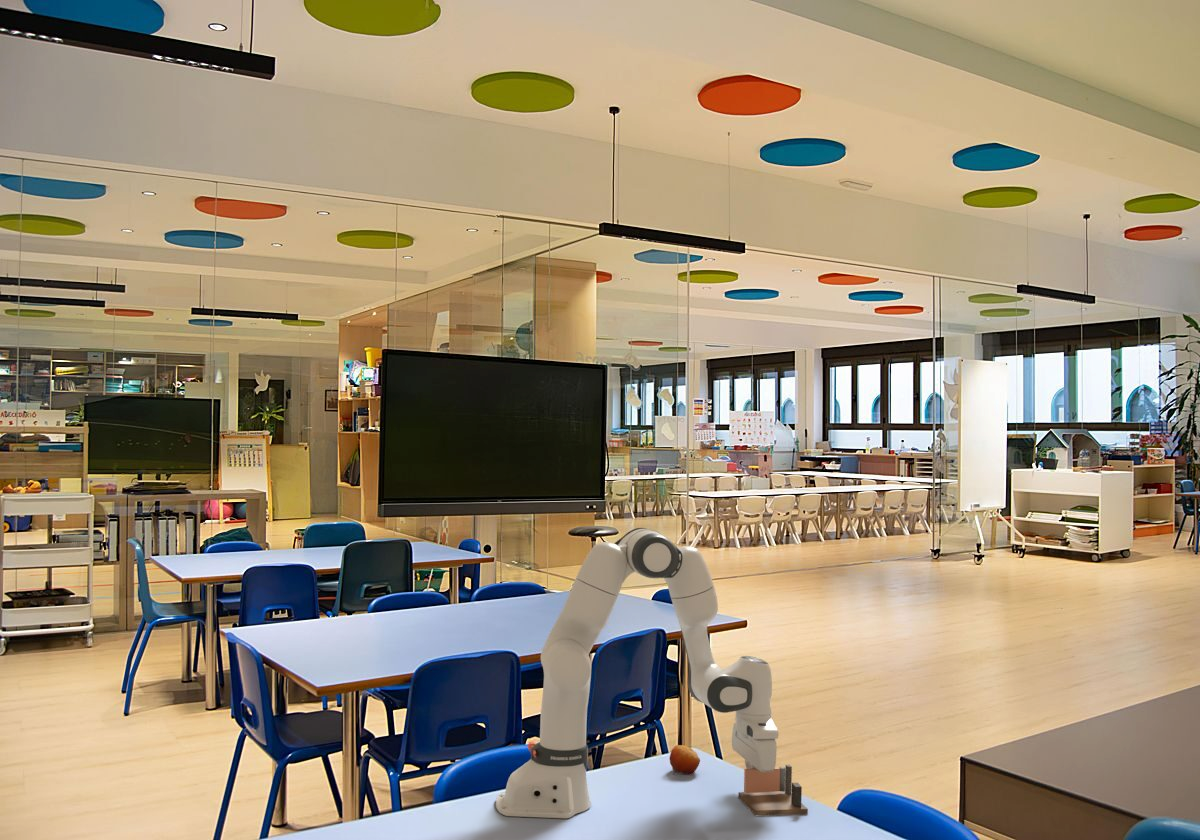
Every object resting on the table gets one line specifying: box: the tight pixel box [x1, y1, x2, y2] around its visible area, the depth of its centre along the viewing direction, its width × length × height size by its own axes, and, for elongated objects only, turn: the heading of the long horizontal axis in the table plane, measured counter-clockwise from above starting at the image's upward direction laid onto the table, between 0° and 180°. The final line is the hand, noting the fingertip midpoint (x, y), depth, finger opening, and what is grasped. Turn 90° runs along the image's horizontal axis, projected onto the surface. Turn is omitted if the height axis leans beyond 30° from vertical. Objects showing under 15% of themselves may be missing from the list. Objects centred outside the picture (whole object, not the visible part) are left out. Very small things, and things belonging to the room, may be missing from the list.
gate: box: [743, 766, 786, 793], centre depth 236 cm, size 11×2×6 cm, turn 104°
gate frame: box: [738, 764, 809, 816], centre depth 232 cm, size 13×13×8 cm
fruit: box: [669, 744, 701, 775], centre depth 256 cm, size 8×8×8 cm
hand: (751, 779), depth 238 cm, fingers closed
